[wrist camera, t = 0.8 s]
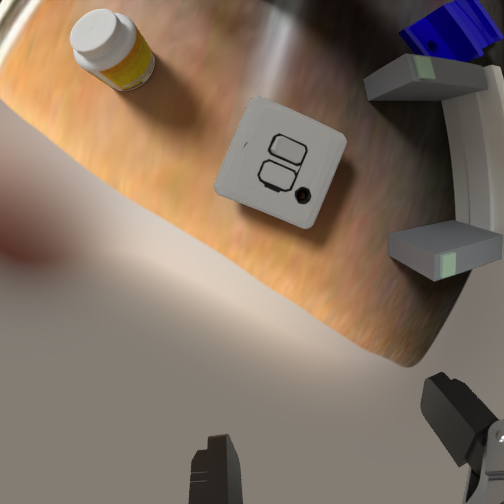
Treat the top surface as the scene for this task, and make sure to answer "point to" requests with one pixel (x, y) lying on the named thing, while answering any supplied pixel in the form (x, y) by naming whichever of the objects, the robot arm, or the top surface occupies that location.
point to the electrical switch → (280, 162)
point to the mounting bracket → (453, 32)
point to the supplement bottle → (112, 49)
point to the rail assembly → (454, 161)
